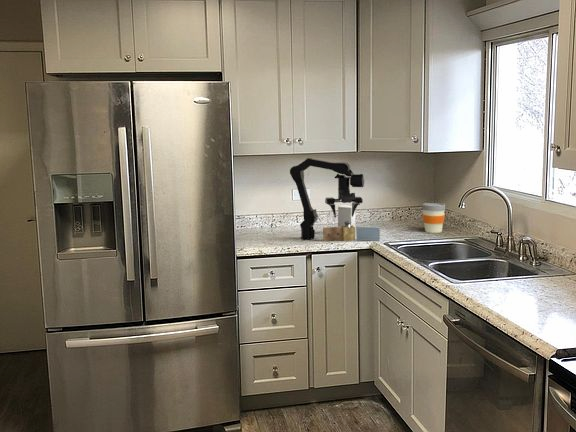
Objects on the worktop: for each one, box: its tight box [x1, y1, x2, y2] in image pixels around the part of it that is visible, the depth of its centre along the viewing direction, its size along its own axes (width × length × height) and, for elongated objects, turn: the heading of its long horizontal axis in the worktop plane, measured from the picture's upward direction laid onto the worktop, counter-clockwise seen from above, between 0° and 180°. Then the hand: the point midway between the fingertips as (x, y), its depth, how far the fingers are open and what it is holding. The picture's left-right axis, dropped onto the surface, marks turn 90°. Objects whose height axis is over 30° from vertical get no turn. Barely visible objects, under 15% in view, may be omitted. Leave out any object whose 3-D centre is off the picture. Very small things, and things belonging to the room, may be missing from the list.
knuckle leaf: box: [322, 225, 356, 242], centre depth 322 cm, size 16×6×7 cm, turn 98°
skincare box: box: [337, 204, 357, 228], centre depth 339 cm, size 8×7×16 cm
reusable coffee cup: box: [421, 202, 446, 234], centre depth 341 cm, size 13×13×15 cm
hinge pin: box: [344, 221, 351, 227], centre depth 323 cm, size 4×4×10 cm
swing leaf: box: [355, 226, 381, 241], centre depth 320 cm, size 12×1×7 cm, turn 73°
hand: (343, 216), depth 323 cm, fingers open, 9 cm apart
